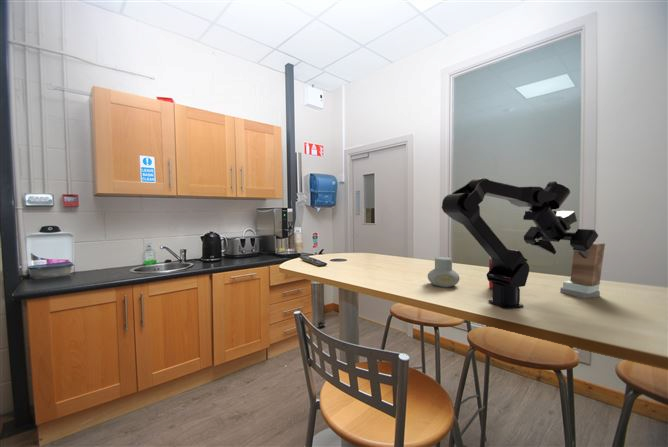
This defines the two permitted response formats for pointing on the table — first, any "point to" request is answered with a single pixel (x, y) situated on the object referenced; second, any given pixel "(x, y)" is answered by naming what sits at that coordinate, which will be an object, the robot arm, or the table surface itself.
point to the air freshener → (443, 273)
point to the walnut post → (588, 266)
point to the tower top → (580, 287)
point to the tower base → (580, 293)
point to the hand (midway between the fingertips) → (570, 255)
